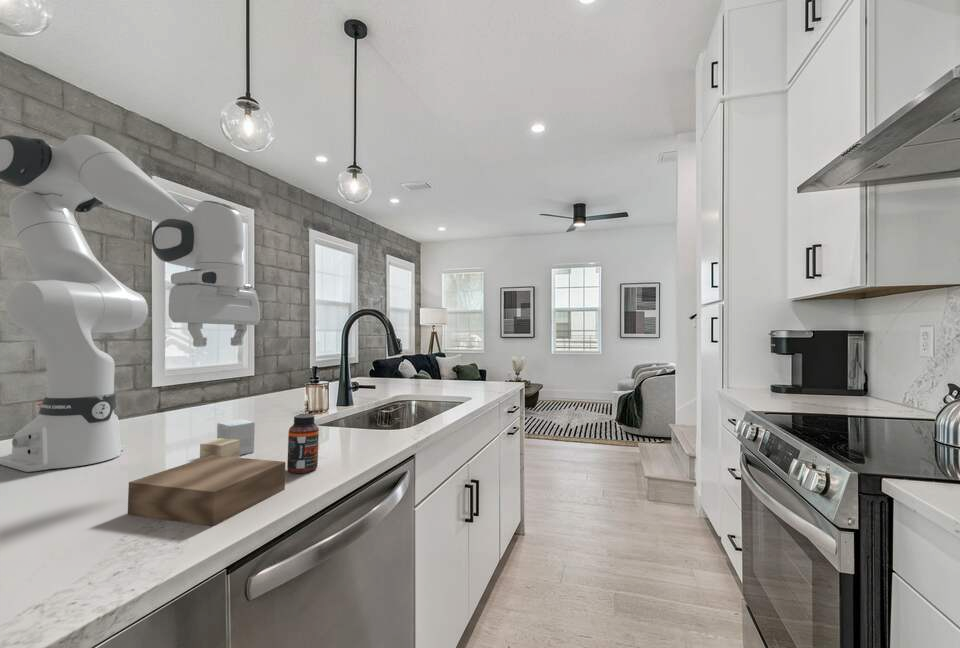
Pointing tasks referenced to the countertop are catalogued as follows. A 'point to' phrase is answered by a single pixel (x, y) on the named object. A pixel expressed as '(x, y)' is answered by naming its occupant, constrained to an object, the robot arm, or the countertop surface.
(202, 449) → the maple block
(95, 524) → the countertop surface
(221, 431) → the product box
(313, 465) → the supplement bottle
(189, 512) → the walnut base
